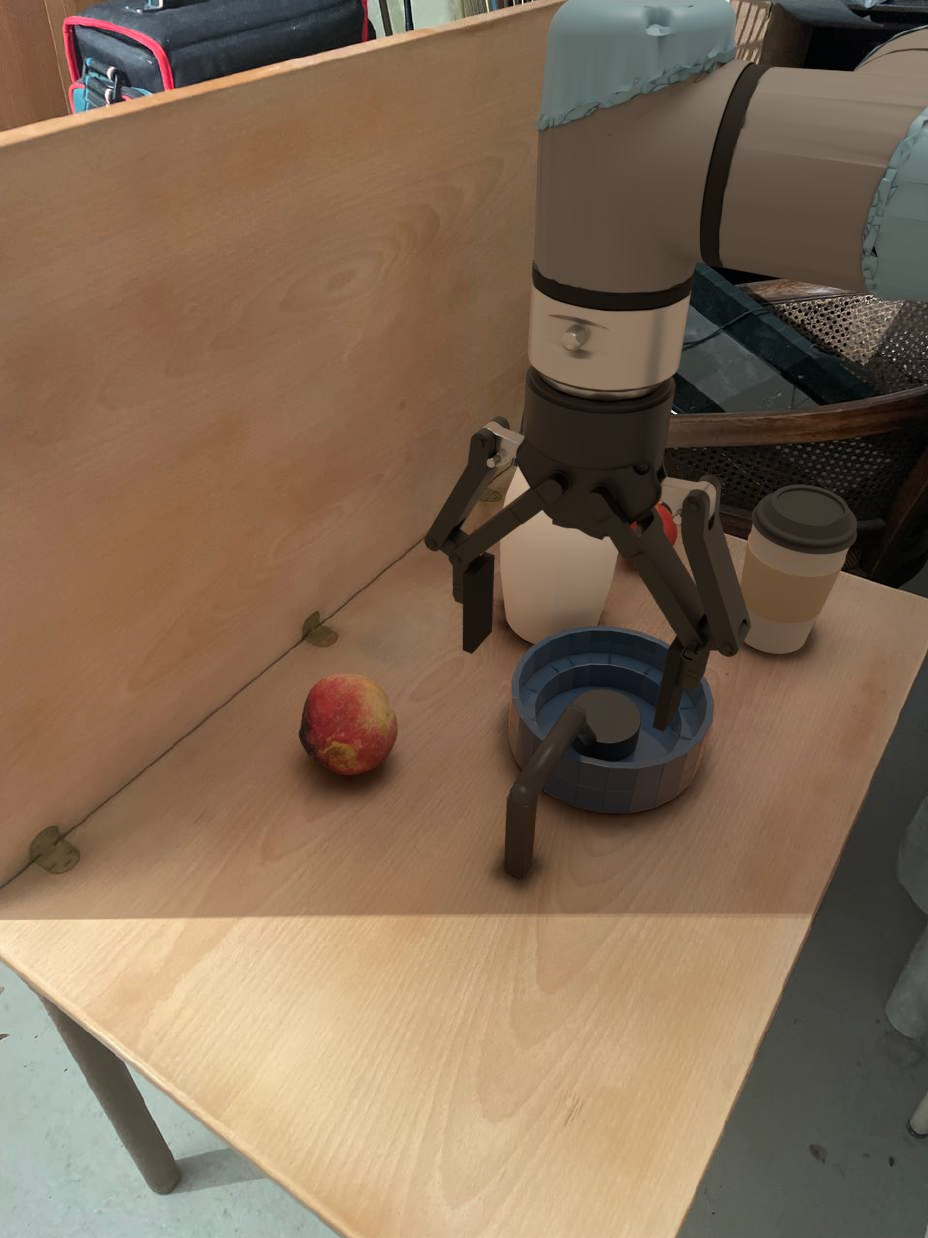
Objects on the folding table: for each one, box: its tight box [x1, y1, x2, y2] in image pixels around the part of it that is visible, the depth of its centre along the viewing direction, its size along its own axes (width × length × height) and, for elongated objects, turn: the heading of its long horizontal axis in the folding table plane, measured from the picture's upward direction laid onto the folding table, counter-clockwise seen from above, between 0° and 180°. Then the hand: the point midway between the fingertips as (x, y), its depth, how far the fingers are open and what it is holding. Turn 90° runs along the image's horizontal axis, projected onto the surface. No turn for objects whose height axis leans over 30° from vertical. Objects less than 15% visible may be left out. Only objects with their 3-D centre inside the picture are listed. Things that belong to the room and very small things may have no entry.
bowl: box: [507, 625, 715, 814], centre depth 75 cm, size 16×16×6 cm
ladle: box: [503, 689, 641, 881], centre depth 69 cm, size 19×6×10 cm, turn 149°
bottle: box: [499, 466, 619, 645], centre depth 81 cm, size 11×11×25 cm
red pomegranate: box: [630, 501, 678, 547], centre depth 94 cm, size 6×6×8 cm
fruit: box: [298, 673, 398, 776], centre depth 72 cm, size 8×8×8 cm
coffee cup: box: [739, 484, 858, 655], centre depth 83 cm, size 9×9×15 cm
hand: (567, 677), depth 59 cm, fingers open, 13 cm apart
